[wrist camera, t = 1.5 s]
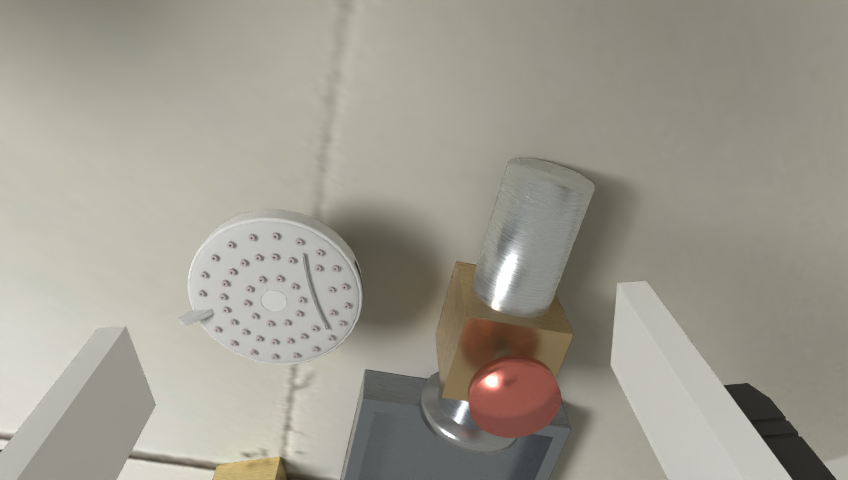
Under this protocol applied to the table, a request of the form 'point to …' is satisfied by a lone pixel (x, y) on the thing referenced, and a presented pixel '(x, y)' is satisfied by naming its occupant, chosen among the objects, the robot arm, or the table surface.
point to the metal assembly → (486, 352)
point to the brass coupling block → (252, 470)
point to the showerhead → (275, 287)
